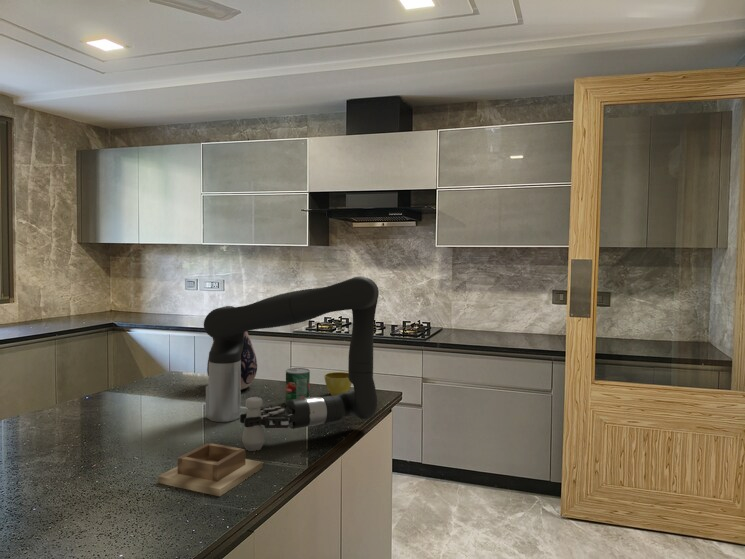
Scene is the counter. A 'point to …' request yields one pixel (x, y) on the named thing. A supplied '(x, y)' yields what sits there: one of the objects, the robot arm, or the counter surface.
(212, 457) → the socket holder
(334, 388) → the flower pot
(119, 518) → the counter surface
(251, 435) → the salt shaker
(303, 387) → the canned tomato
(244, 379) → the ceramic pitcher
